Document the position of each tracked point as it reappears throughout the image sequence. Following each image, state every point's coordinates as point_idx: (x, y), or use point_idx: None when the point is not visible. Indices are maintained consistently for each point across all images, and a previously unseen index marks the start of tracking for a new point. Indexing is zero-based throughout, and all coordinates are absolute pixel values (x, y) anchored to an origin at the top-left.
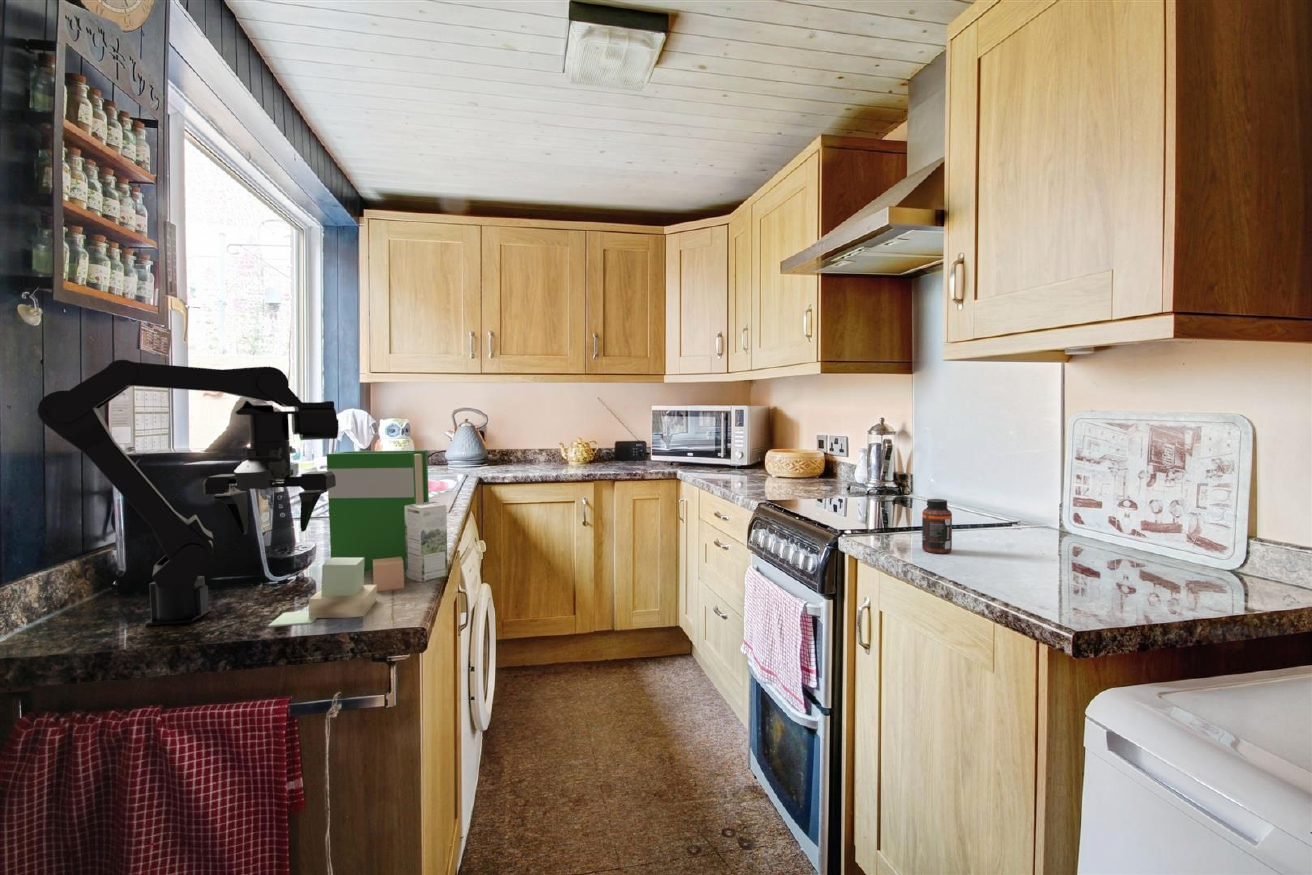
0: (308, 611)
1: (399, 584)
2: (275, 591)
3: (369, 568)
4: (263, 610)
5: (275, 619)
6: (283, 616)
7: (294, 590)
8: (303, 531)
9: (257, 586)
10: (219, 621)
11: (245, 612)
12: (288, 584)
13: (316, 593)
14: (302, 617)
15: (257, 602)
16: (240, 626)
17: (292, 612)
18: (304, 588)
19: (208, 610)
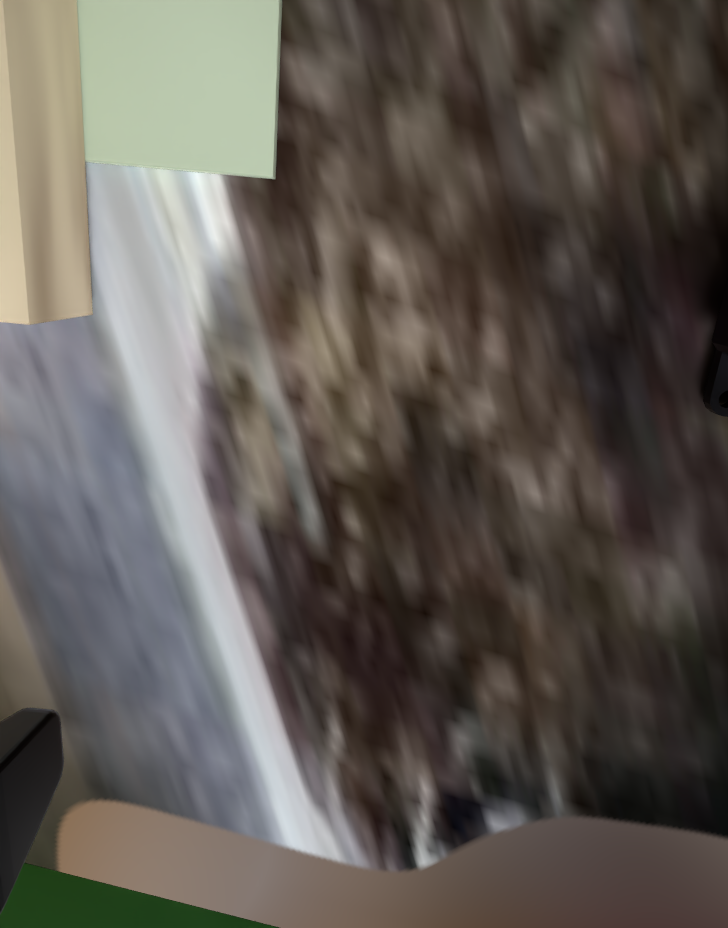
0: (133, 154)
1: None
2: (456, 669)
3: (87, 891)
4: (421, 324)
5: (277, 31)
6: (249, 88)
7: (363, 657)
8: (33, 710)
9: (569, 782)
10: (610, 172)
11: (510, 316)
12: (425, 771)
13: (6, 87)
14: (124, 22)
15: (495, 495)
16: (464, 13)
17: (222, 163)
18: (322, 677)
19: (713, 371)
